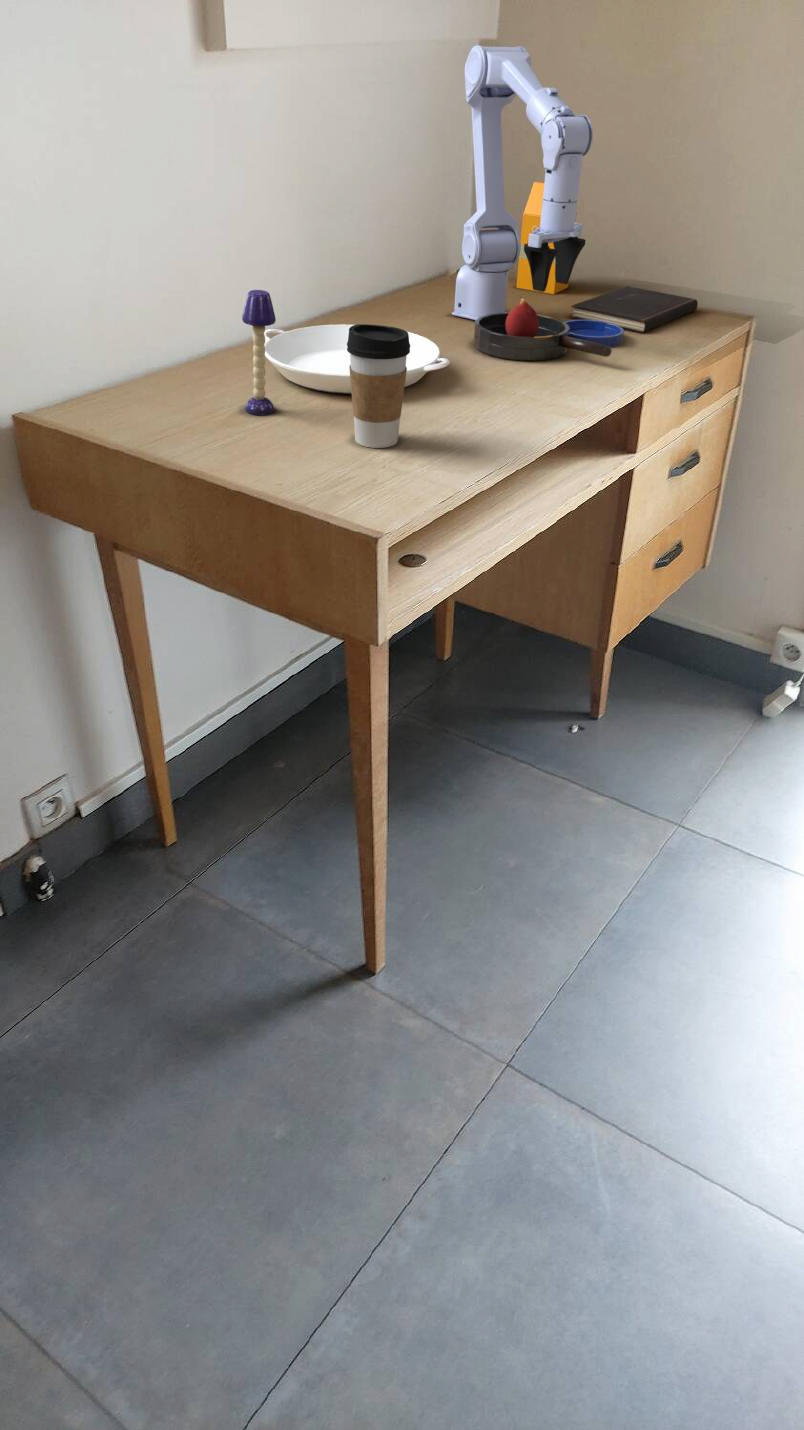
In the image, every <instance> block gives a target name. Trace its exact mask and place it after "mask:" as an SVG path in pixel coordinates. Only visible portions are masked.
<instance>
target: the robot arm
mask: <svg viewBox="0 0 804 1430" xmlns="http://www.w3.org/2000/svg"><path fill="white" fill-rule="evenodd" d="M464 84H465V98H466V99H465V100H466V103H467V104H468V105H469V106H470V108H471V125H472V143H473V144H472V146H473V163H474V165H473V167H474V182H475V183H474V184H475V200H476V201H475V203H476V212H474V214H473V215H471V217H470V218H468V220H467V221H466V222H465V223H464V225H463V236H462V238H463V239H462V244H461V253H462V259H463V260H464V262H465V264H464V265H463V266H461V267H460V268H459V270H458V273H457V276H456V279H455V290H454V291H455V294H454V310H453V311H452V312H451V315H452V316H454V317H459V318H465V319H469V320H473V321H476V320H477V319H478V318H479V317H482V316H485V315H488V314H495V313H508V312H507V311H506V307H507V296H508V284H509V275H510V274H509V273H510V272H509V271H510V270H512V269H513V268H514V267H513V265H515V264H516V262H517V261H519V255H520V251H521V236H520V233H519V229H518V222H517V219H516V218H515V217H514V216H513V215H512V214H510V213H509V211H507V210H506V205H505V183H504V182H505V181H504V161H503V158H504V157H503V156H504V155H503V139H502V137H503V135H502V134H503V133H502V116H501V115H502V111H503V109H504V107H506V106H508V105H509V104H512V102H513V100H515V98H516V97H518V98H519V99H520V100H521V101H522V102H523V103H524V104H525V105H526V106H525V112H526V113H525V114H526V118H527V119H528V120H529V122H530V123H531V124H532V126H533V128H535V129H536V131H537V132H538V133H539V135H540V136H541V137H540V138H541V141H540V142H541V148H542V153H543V157H542V158H543V159H542V160H543V161H542V164H543V168H545V173H544V181H543V182H544V192H543V201H542V211H541V221H540V227H539V228H538V229H537V230H535V231H534V232H533V233H530V234H529V242H528V243H527V244H524V252H525V254H526V256H527V259H528V262H529V266H530V271H531V278H532V286H533V290H537V291H536V292H538V291H542V292H541V293H544V291H545V290H546V287H547V283H548V278H549V273H550V269H551V266H552V263H553V260H554V258H555V281H556V282H558V283H563V284H567V283H568V284H569V282H570V281H569V280H570V278H571V275H572V272H573V269H574V266H575V264H576V262H577V259H578V257H579V255H580V253H581V251H582V250H583V249H584V247H585V245H586V239H584V238H581V237H582V236H583V229H584V228H583V227H584V223H579V222H576V223H575V217H576V218H577V215H576V212H577V210H578V209H577V208H578V201H579V191H580V184H581V174H582V167H583V158H584V157H585V156H586V155H587V154H588V153H589V152H590V150H591V148H592V144H593V138H594V131H593V124H592V122H591V120H590V119H589V116H588V115H586V114H579V115H578V114H577V113H576V114H575V113H574V112H573V111H572V109H571V107H569V105H567V103H566V102H565V100H563V99H562V97H561V96H560V94H559V91H558V89H557V87H549V86H546V87H543V85H542V83H541V82H540V80H539V78H538V77H537V75H536V74H535V72H534V70H533V69H532V56H531V54H530V53H528V51H527V49H526V48H525V47H524V46H522V45H518V46H482V45H480V44H479V45H474V46H473V47H472V48H471V49H470V51H469V53H468V55H467V59H466V61H465V64H464ZM492 228H493V229H492ZM494 228H495V229H494ZM482 229H483V230H482ZM552 242H553V245H554V249H551V248H549V247H550V246H548V244H549V243H552ZM568 281H569V282H568Z"/></svg>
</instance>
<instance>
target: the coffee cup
mask: <svg viewBox="0 0 804 1430" xmlns="http://www.w3.org/2000/svg"><path fill="white" fill-rule="evenodd" d="M352 325H353V326H351V327H350V328H349V335H348V342H347V351H348V352H349V353H350V362H351V364H350V366H349V369H350V381H351V393H352V394H351V402H352V412H353V413H352V415H353V427H354V440H355V442H356V443H357V445H359V446H363V447H366V448H373V449H385V448H391V447H393V446H395V445H396V444H397V443H398V440H399V433H400V424H401V423H400V422H401V416H402V411H403V409H402V408H403V400H404V395H405V388H406V387H405V379H406V372H407V367H406V358H407V355H408V354H409V353H410V343H409V334H408V332H409V331H407V332H406V330H405V329H402V328H399V327H394V326H390V325H380V324H369V323H368V324H367V323H366V324H365V323H362V324H361V323H359V324H352Z"/></svg>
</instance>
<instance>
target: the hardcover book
mask: <svg viewBox="0 0 804 1430" xmlns="http://www.w3.org/2000/svg"><path fill="white" fill-rule="evenodd" d="M698 304H699V302H698V300H697V298H691V297H686V296H682V295H677V294H671V293H666V292H662V291H655V290H650V289H646V288H640V287H635V286H630V285H626V286H623V287H619V288H617V289H614V290H612V291H609V292H606V293H604V294H600V295H597V296H594V297H592V298H589V299H586V300H584V301H583V300H582V301H580V302H578V303H575V304H572V305H570V306H571V308H573V310H572V315H570V316H569V317H570V319H574V320H596V321H603V322H608V323H612V324H615V325H617V326H619V327H622V329H623V330H624V331H629V332H630V331H631V332H635V333H638V334H639V333H640V334H643V333H646V332H648V331H650V330H652V329H654V328H657V327H660V326H662V325H665V324H667V323H669V322H672V321H675V320H676V319H678V318H681V317H683V316H686V315H688V314H691V313H692V312H695V311H696V310H697V308H698Z"/></svg>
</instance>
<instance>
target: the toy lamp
mask: <svg viewBox="0 0 804 1430" xmlns="http://www.w3.org/2000/svg"><path fill="white" fill-rule="evenodd" d="M241 320H242V323H244V324H246V325H249V326H252V332H253V335H252V342H253V346H252V352H253V357H252V364H253V369H252V374H253V376H254V377H253V381H252V384H253V390H252V393H253V394H252V395H253V397H251V398H249V399H248V400H247V402H246V404H245V408H244V410H245V412H247V413H248V414H251V415H254V416H255V415H256V416H257V415H258V416H264V415H270V414H273V413H274V412H275V406H274V403H273V402H272V401H271V399H269V398H267V397H266V389H265V386H266V379H265V376H266V367H265V365H266V356H265V346H264V344H265V335H264V332H265V330H266V327H268V326H269V327H270V326H272V325H275V324H276V315H275V310H274V304H273V301H272V298H271V294H270V292H268V291H267V290H263V289H252V290H249V291H248V293H247V295H246V299H245V303H244V308H243V312H242V319H241Z"/></svg>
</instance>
